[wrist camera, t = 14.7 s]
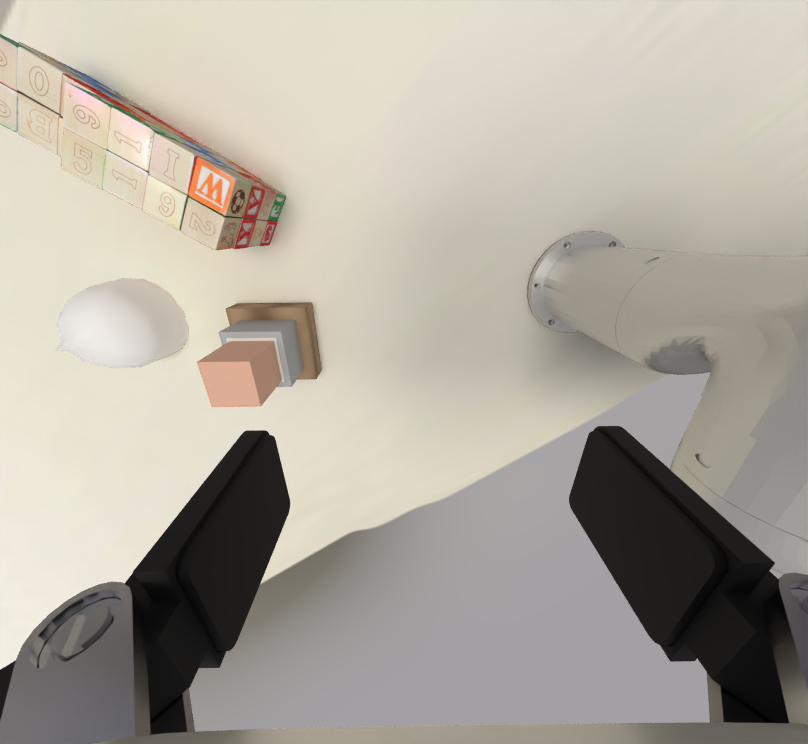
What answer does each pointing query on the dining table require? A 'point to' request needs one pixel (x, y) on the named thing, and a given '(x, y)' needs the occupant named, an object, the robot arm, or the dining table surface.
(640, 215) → the dining table surface
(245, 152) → the dining table surface
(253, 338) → the grey block
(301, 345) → the plinth
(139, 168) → the stack of blocks
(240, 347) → the terracotta block
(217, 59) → the dining table surface
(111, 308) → the teardrop
